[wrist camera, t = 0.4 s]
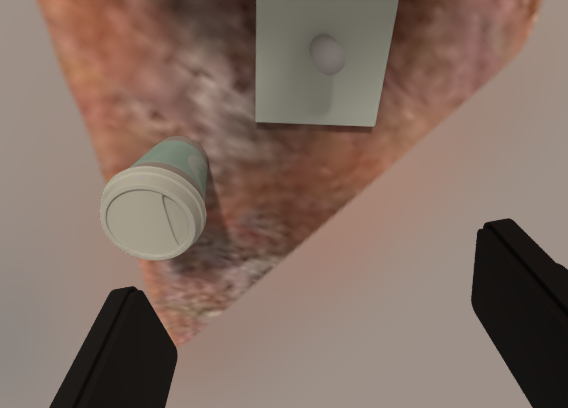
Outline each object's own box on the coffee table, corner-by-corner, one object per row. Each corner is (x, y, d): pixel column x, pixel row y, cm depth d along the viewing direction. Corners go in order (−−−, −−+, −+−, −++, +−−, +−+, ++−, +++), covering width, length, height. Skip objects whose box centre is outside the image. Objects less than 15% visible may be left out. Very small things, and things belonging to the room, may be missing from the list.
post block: (257, -50, 29) (253, -56, 24) (402, -41, 30) (429, -45, 24) (255, 118, 36) (252, 141, 31) (372, 123, 37) (388, 146, 32)
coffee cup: (205, 205, 42) (183, 278, 32) (131, 176, 40) (82, 245, 29) (233, 143, 38) (218, 204, 28) (153, 108, 36) (105, 159, 25)
